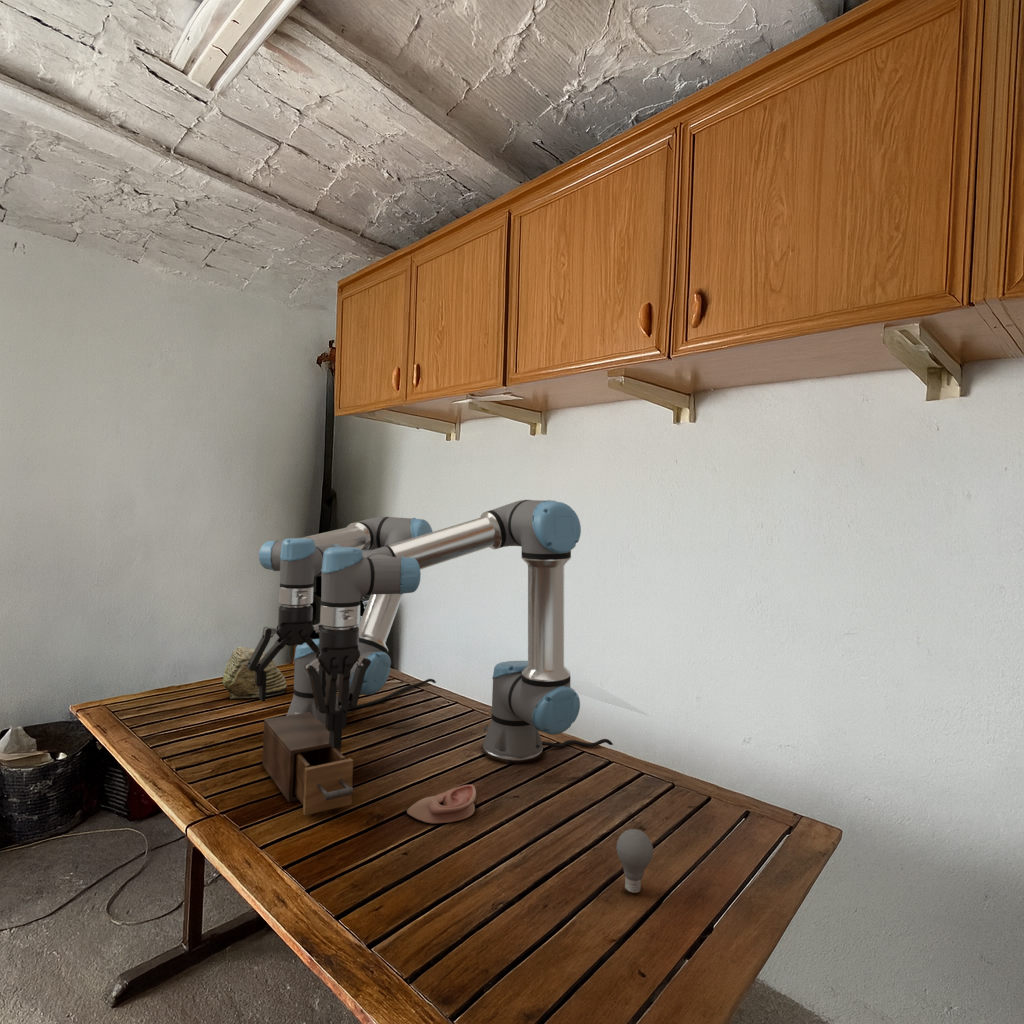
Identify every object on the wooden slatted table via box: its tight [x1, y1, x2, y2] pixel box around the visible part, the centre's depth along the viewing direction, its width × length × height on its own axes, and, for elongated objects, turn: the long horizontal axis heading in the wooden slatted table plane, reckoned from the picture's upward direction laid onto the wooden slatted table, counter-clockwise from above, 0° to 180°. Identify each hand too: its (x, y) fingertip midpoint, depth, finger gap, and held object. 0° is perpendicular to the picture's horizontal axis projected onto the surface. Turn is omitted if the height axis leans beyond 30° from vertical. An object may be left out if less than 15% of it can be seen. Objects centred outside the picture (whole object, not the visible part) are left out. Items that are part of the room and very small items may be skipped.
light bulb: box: [615, 828, 654, 894], centre depth 106 cm, size 6×6×10 cm
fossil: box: [222, 646, 288, 699], centre depth 198 cm, size 9×18×15 cm, turn 132°
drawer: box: [293, 747, 354, 816], centre depth 132 cm, size 26×10×9 cm, turn 36°
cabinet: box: [261, 712, 342, 803], centre depth 142 cm, size 21×11×11 cm, turn 36°
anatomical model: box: [406, 784, 477, 824], centre depth 130 cm, size 13×4×12 cm
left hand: (292, 695), depth 148 cm, fingers open, 13 cm apart
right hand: (335, 745), depth 125 cm, fingers closed
